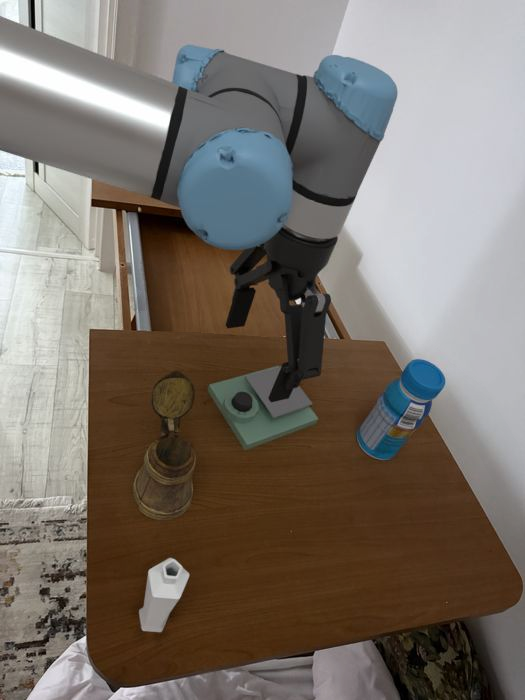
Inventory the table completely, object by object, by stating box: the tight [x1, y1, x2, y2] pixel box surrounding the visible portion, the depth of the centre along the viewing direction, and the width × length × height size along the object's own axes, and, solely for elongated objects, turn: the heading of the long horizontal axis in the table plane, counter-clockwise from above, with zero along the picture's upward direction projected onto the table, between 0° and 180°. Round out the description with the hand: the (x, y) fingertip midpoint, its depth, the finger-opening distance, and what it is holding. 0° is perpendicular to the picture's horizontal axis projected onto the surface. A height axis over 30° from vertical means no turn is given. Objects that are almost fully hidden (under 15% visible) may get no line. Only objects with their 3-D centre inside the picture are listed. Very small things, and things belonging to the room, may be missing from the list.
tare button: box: [233, 392, 253, 412], centre depth 88 cm, size 3×3×2 cm
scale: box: [206, 365, 319, 451], centre depth 92 cm, size 17×14×4 cm
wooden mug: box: [131, 369, 196, 521], centre depth 72 cm, size 9×14×18 cm, turn 13°
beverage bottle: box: [356, 358, 446, 461], centre depth 89 cm, size 8×8×20 cm
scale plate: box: [245, 365, 314, 419], centre depth 93 cm, size 9×10×1 cm
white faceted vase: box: [138, 557, 190, 633], centre depth 59 cm, size 5×4×15 cm
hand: (255, 360), depth 68 cm, fingers open, 13 cm apart
